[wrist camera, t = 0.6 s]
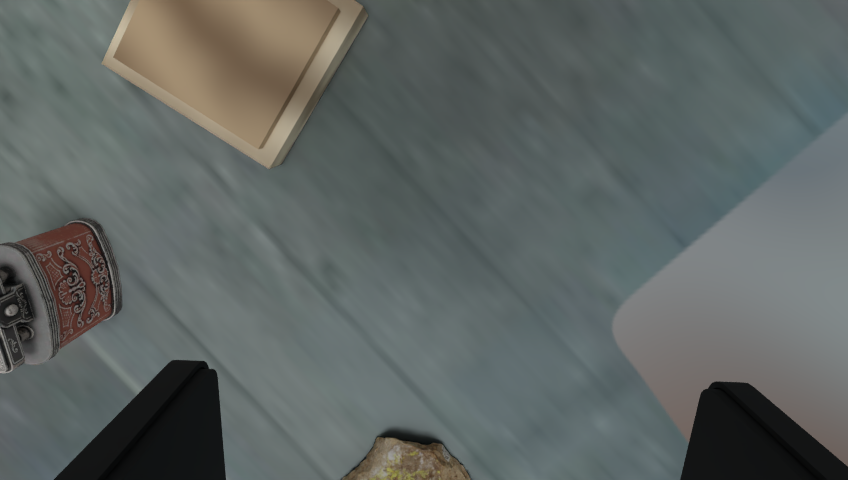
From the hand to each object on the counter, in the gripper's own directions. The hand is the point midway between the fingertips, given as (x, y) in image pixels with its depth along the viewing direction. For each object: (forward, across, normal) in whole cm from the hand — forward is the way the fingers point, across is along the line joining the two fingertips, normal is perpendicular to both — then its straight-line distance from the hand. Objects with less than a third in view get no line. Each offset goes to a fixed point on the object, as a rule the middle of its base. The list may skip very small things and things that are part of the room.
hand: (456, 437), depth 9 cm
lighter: (+27, +26, +7) cm, 38 cm away
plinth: (+27, +13, -10) cm, 32 cm away
